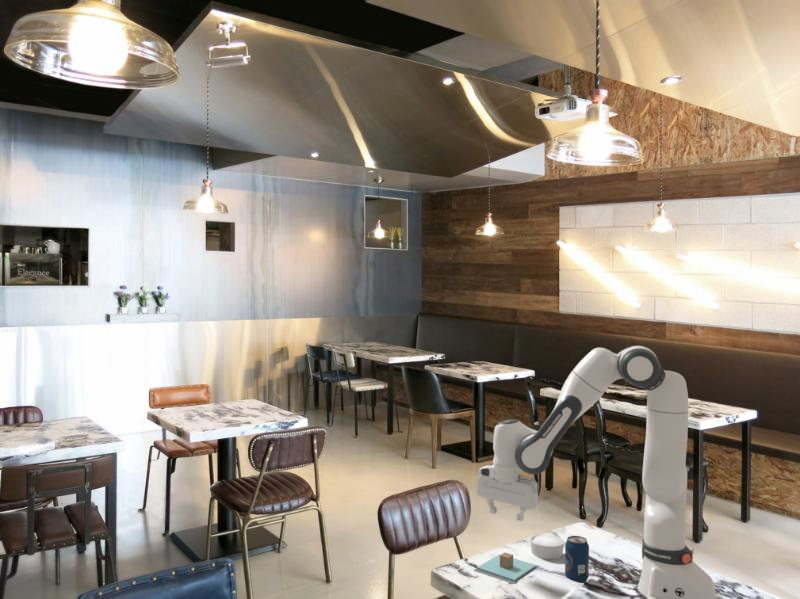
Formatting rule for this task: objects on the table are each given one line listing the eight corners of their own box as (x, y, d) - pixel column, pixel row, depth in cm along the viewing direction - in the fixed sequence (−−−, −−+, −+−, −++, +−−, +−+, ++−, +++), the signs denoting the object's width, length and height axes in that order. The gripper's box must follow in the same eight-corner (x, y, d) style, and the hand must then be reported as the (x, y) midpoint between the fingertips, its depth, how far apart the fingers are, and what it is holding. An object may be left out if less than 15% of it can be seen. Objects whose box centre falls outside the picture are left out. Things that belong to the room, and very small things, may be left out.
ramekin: (529, 547, 219) (529, 532, 218) (563, 550, 216) (563, 534, 216) (529, 561, 208) (529, 544, 208) (565, 564, 205) (565, 547, 205)
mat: (539, 568, 202) (539, 566, 202) (513, 586, 189) (513, 583, 189) (500, 556, 211) (500, 554, 211) (473, 572, 198) (473, 570, 198)
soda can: (561, 574, 198) (561, 535, 198) (583, 573, 199) (583, 534, 198) (570, 584, 191) (570, 544, 191) (592, 583, 192) (592, 543, 192)
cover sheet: (535, 567, 201) (535, 554, 201) (514, 581, 191) (514, 567, 191) (499, 556, 209) (499, 543, 209) (477, 569, 199) (477, 556, 199)
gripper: (542, 476, 195) (541, 521, 196) (484, 464, 209) (484, 506, 209) (532, 481, 191) (531, 527, 191) (474, 468, 204) (473, 511, 204)
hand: (506, 516), depth 200 cm, fingers open, 8 cm apart
